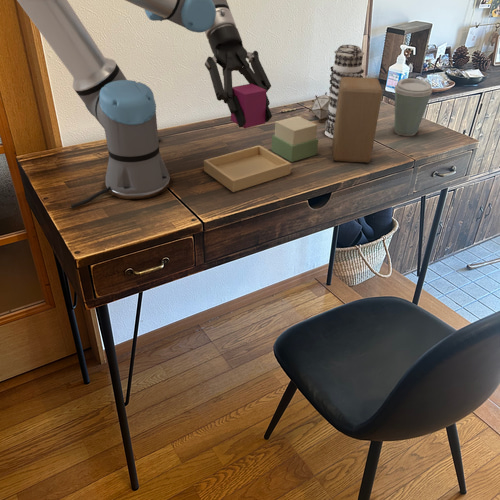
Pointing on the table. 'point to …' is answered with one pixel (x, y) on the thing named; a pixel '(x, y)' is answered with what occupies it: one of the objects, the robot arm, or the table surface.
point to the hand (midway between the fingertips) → (255, 121)
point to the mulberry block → (251, 104)
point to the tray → (246, 168)
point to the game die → (321, 106)
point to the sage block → (294, 149)
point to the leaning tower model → (344, 66)
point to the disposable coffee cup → (410, 105)
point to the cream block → (295, 130)
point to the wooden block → (356, 119)
